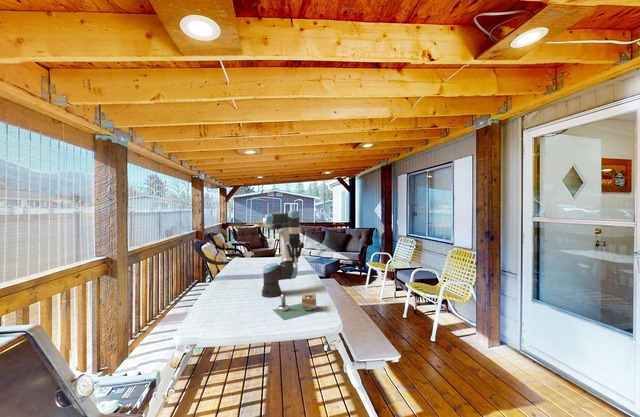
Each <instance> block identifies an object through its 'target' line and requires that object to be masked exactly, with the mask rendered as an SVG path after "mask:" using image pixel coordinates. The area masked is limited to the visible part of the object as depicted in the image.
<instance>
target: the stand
mask: <svg viewBox="0 0 640 417" xmlns="http://www.w3.org/2000/svg"><path fill="white" fill-rule="evenodd" d="M280 296H281V298H280V299H281V304H280V305H279V306H278V308H277V309H278V310H279V311H281V312H285V311H288V310H289V306H290V305H288V304H286V294H285V293H281V295H280Z"/></svg>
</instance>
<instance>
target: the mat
mask: <svg viewBox="0 0 640 417" xmlns="http://www.w3.org/2000/svg"><path fill="white" fill-rule="evenodd" d="M288 306H289V310H288V311H285V312H281V311H279V310H278V308H274V309H272V311H273V312H274V313H275V314H276V315H278V317H280V318H281V319H282V321H287V320H292V319H296V318H299V317H304V316H308V315H312V314H316V313H320V312H323V311H324V309H322V308H321V307H319V306H318V305H316V308H315V310H313V311H305V310H304V309H303V308H302V302H301V303H296V304H292V305H288Z"/></svg>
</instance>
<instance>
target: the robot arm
mask: <svg viewBox="0 0 640 417" xmlns="http://www.w3.org/2000/svg"><path fill="white" fill-rule="evenodd" d="M300 216H301V215H300V212H299V210H289V211H288V212H285V213H284V212H283V213H281V212H280V213H267V214H265V217H263V219H262V226H263V227H264V228H266V229H269V230H276V232H277V233H278V234H279V235H278V236H279V244H280V254H281V256H280V257H281V261H280V263H277V262H273V263H268V264H266V265H264V266H263V268H262V269H263V270H262V271H263V272H262V274H263V279H262V280H263V286H262V288H261V296H262V297H263V298H276V297H279V296H281V295H282V289H281V286H280V281H283V280H293V279H296V278H297V276H298V269H299V268H298V267H299V266H298V262H299V257H301V255H302V250H303V246H304V242H303V241H301V239H300V238H301V234H300V232H301V230H300V229H301V228H300V227H301V226H300Z"/></svg>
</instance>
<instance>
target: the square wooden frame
mask: <svg viewBox="0 0 640 417" xmlns="http://www.w3.org/2000/svg"><path fill="white" fill-rule="evenodd" d="M301 296H302V297H301V303H302V308H316V306H317V294H316V293H313V294H302V295H301ZM307 296H311V298H307Z"/></svg>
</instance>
